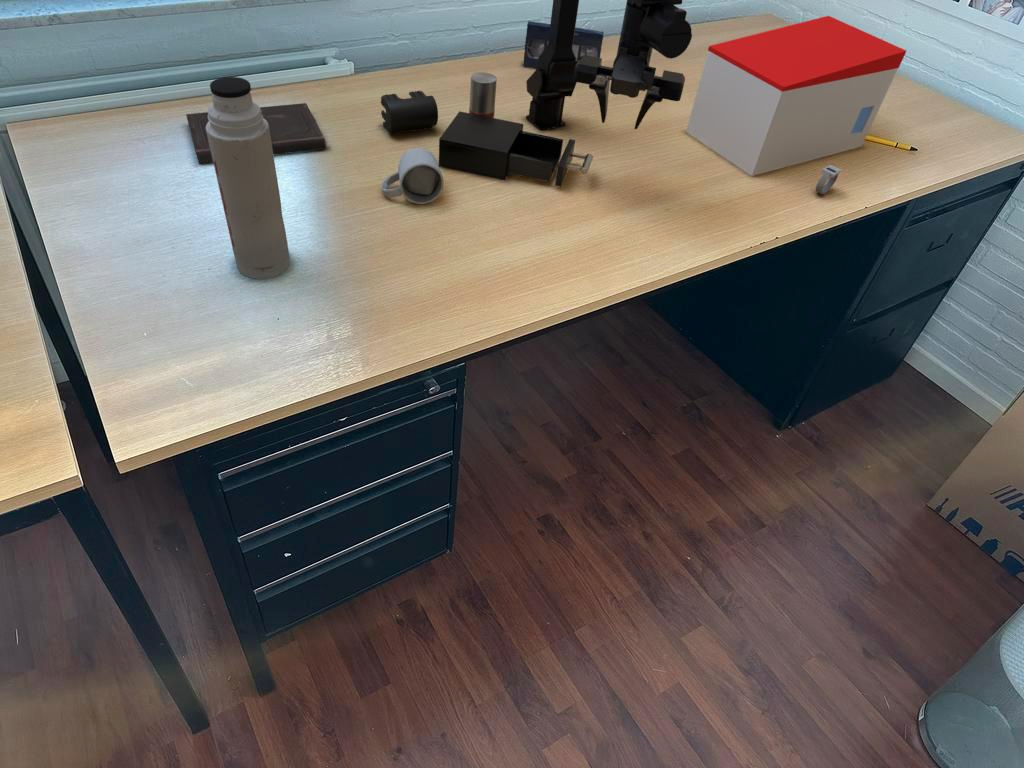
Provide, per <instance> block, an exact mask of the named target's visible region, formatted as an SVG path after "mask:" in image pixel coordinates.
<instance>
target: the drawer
mask: <svg viewBox="0 0 1024 768" xmlns="http://www.w3.org/2000/svg"><path fill="white" fill-rule="evenodd" d="M563 145H564V139H563V138H559V137H555V136H549V135H545V134H540V133H534V132H530V131H529V132H528V131H524V130H523V131H521V132H520V133H519V135H518V137H517V139H516V141H515V142H514V144H513V146H512V148H511V150H510V151H509V153H508V159H507V170H506V173H509V174H510V175H513V176H514V175H515V176H520V177H524V178H528V179H533V180H538V181H544V182H547V183H549V182H551V181H552V178H553V176H554V173H555V171H556V175H555V183H554V186H556V187H560V188H561V187H562V185H563V183H564V180H565V178H566V176H567V173H568V171H569V170H572V171H577V172H580V173H581V174H582V175H586V174H588V172H589V170H590V166H591V164H592V161H593V159H594V156H593V154H592V153H587V154H582V153H577V152H574V151H575V147H576V139H573V138H568V142H567V143H566V146H565V148H564V151H562V150H563ZM562 152H563V153H562ZM573 158H577V159H582V160H583V162H582V165H581V166H577V165H572V164H571V163H572V161H573ZM509 174H508V175H509Z"/></svg>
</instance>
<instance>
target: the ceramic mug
mask: <svg viewBox="0 0 1024 768" xmlns="http://www.w3.org/2000/svg"><path fill="white" fill-rule="evenodd" d="M397 166H398V167H397V172H394V173H392V174H390V175H388V176H387V177H386V178H385V179H384V180H383V181H382V183H381V185H380V189H381V192H382V193H383V195H384V196H385V198H396V197H400V196H403V197H404V198H405V199H406V200H407V201H409V202H411V203H413V204H418V205H426V204H430V203H432V202H433V201H435V200H437V199H438V197H439V196H440V195H441V193H442V191H443V190H444V183H445V182H444V176H443V173H442V170H441V167H439V161H438V160H437V158H436V156H435V155H434V154H433V153H432V152H431V151H430V150H428V149H426V148H423V147H413V148H410V149H408V150H406V151H405V152H404V153H403V154H402V155H401V157H400V159H399V162H398V165H397ZM398 181H399V186H397V187H394V188H390V186H391V185H393V184H395V183H396V182H398Z"/></svg>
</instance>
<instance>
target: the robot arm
mask: <svg viewBox="0 0 1024 768" xmlns="http://www.w3.org/2000/svg"><path fill="white" fill-rule="evenodd" d="M682 4H683V0H626V4H625V9H624V15H623V20H622V25H621V30H620V36H619V41H618V46H617V51H616V56H615V58H614V60H613V62H612V63H613V64H612V67H611V66H605V65H602V62H603V58H601V57H600V58H597V57H591V56H586V55H583V56H581V57H580V58H579V60H577V59H576V57H575V55H574V52H573V49H572V48H573V40H574V33H575V28H576V26H577V19H578V12H579V11H578V10H579V5H580V0H552V8H551V15H550V23H549V24H550V32H549V40H548V45H547V46H546V48H545V49H544V51H543V52H542V53H541V55H540V56H539V58H538V63H537V68H535V71H534V72H532V74H531V75H530V76H529V77H528V78H527V80H526V92H527V93H528V95H530V96H531V100H530V101H529V110H528V112H529V113H528V114H527V115H526V116H525V119H526V120H527V121H529V122H530V123H531V124H533V125H534V126H535V127H536V128H537V129H538V130H540V131H546V130H551V129H556V128H562V127H566V122H565V121H563V113H564V108H565V107H564V106H565V101H566V97H572V96H573V94H574V90H575V88H576V86H577V83H579V84H584V85H588V88H589V89H590V90H593V91H594V93H595V95H596V97H597V100H598V104H599V111H600V117H601V123H602V124H605V122H606V118H607V113H608V104H609V95H610V94H609V93H611V94H613V95H616V96H617V95H621V96H627V97H629V98H631V99H632V98H633V99H635V98H637V97H639V94H640V91H641V92H645V95H644V97H643V101H642V103H641V105H640V109H639V110H638V111H639V112H638V115H637V117H636V121H635V125H634V130H638V128H639V126H640V125H641V123H642V121H643V119H644V118H645V116H646V114H647V113H648V111H650V109H651V108H652V106H653V105H654V104H655V103H662V102H663V100H668V101H673V102H680V101H681V98H682V95H683V92H684V91H683V90H684V86H685V82H686V77H685V75H684V73H681V72H676V71H670V70H665V69H663V72H662V76H659V75H656V70H657V67H655V66H654V67H653V66H650V62H651V58H652V53H653V50H655V51H656V52H657V53H659V54H660V55H662V57H665V58H666V59H676V58H678V57H679V56H681V55H682V54H683V53H684V52H685V51H686V50H687V49H688V47H689V45H690V44H691V41H692V38H693V33H692V26H691V24H690V22H689V21H688V20H686V17H687V14H688V13H687V10H685V9H684V8H681V7H678V5H682Z"/></svg>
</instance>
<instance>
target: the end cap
mask: <svg viewBox="0 0 1024 768" xmlns="http://www.w3.org/2000/svg"><path fill="white" fill-rule="evenodd" d="M408 95H409V98H407V97H406V98H400V97H399V96H398V95H397V93H390V94H387V93H386V94H383V95H381V97H380V104H381V106H382V107H383V109H381V112H380V115H381V118H382V119H383V120H384V121H383V122H382V126H383V128H384V130H386V131H387V133H388V134H389V135H393V134H401V133H407V132H413V131H414V132H415V131H423V130H428V129H429V130H430V129H432V128H434V127H436V126H437V124H438V123H439V122H438V121H439V109H438V104H437V101H436V99H435V97H434V95H432V94H431V95H426V93H424V91H422V90H415V91H413V90H412V91H409V92H408Z"/></svg>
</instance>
